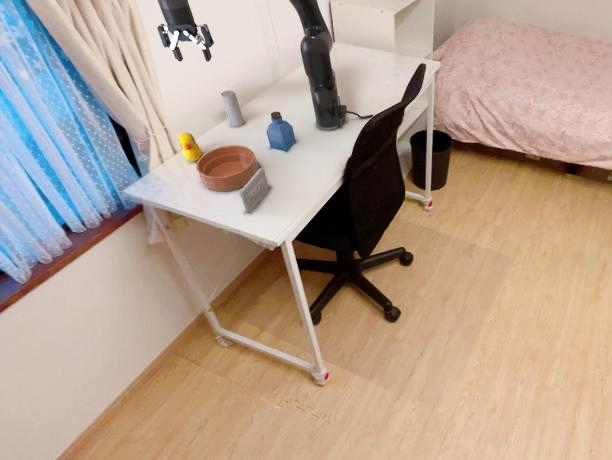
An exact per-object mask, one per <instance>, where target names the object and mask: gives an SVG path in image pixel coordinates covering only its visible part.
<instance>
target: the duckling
mask: <svg viewBox="0 0 612 460" xmlns="http://www.w3.org/2000/svg"><path fill="white" fill-rule="evenodd" d="M178 143H179V145H180V147H182V154H183V156H184V158H186V159H187V160H188V161H190V162H194V161H195V162H196V161H198V160H199V159H200V158H201V156H203V152H202V149H201V148H200V146H199V144H198V143H197V142H196V139H195V136H194V135H193V134H191V132H182V133H180V134H179V136H178Z"/></svg>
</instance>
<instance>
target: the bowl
mask: <svg viewBox="0 0 612 460" xmlns="http://www.w3.org/2000/svg"><path fill="white" fill-rule="evenodd" d="M195 169H196V171H197V174H198V176H199V178H200V180H201V182H202V184H203V185H204V187H206V188H208V189H209V190H213V191H216V192H228V191H233V190H237V189H240V188H243V187H244V186H245V185H246V184H247V183H248V181H249V180H250V179H251V178H252V177H253V176H254V175H255V173H256V172H257V171H258V170H259V169H260V168H259V164H258V161H257V157H256V155H255V152H254V151H253V150H252V149H251V148H249V147H247V146H243V145H240V144H239V145H238V144H234V145H233V144H230V145H224V146H219V147H216V148H213V149H211V150H209V151H208V152H206V153H205V152H204V154H202V155H201V156H200V158H199V159H198V160H197V162H196V167H195Z"/></svg>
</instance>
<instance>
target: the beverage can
mask: <svg viewBox="0 0 612 460" xmlns="http://www.w3.org/2000/svg"><path fill="white" fill-rule="evenodd" d="M220 97H221V100H222V104H223V106H224V109H225V112H226V115H227V118H228V120H229V123H230V125H231V126H232V127H235V128H236V127H237V128H238V127H241V126H243V125H244V124H245V120H244V117H243V114H242V110H241V107H240V104H239V101H238V97H237V95H236V93H235V91H233V90H226V91H223V92H221V94H220Z"/></svg>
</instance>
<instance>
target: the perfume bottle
mask: <svg viewBox="0 0 612 460" xmlns="http://www.w3.org/2000/svg"><path fill="white" fill-rule="evenodd" d="M270 120H271V122H270V124H269V125H268V127H267V130H266V132H265V133H266V136H267V140H268V143H269V146H270V149H273V150H278V151H282V152H288V151H289V150H290V149H291V148H292V147H293V146H294V145H295V144H296V142H297V141H296V136H295V132H294V131H295V130H294V128H293V125H292V124H290V122H288V121H287V120H284V119H283V115H281V112H280V111H273V112H271V113H270Z"/></svg>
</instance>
